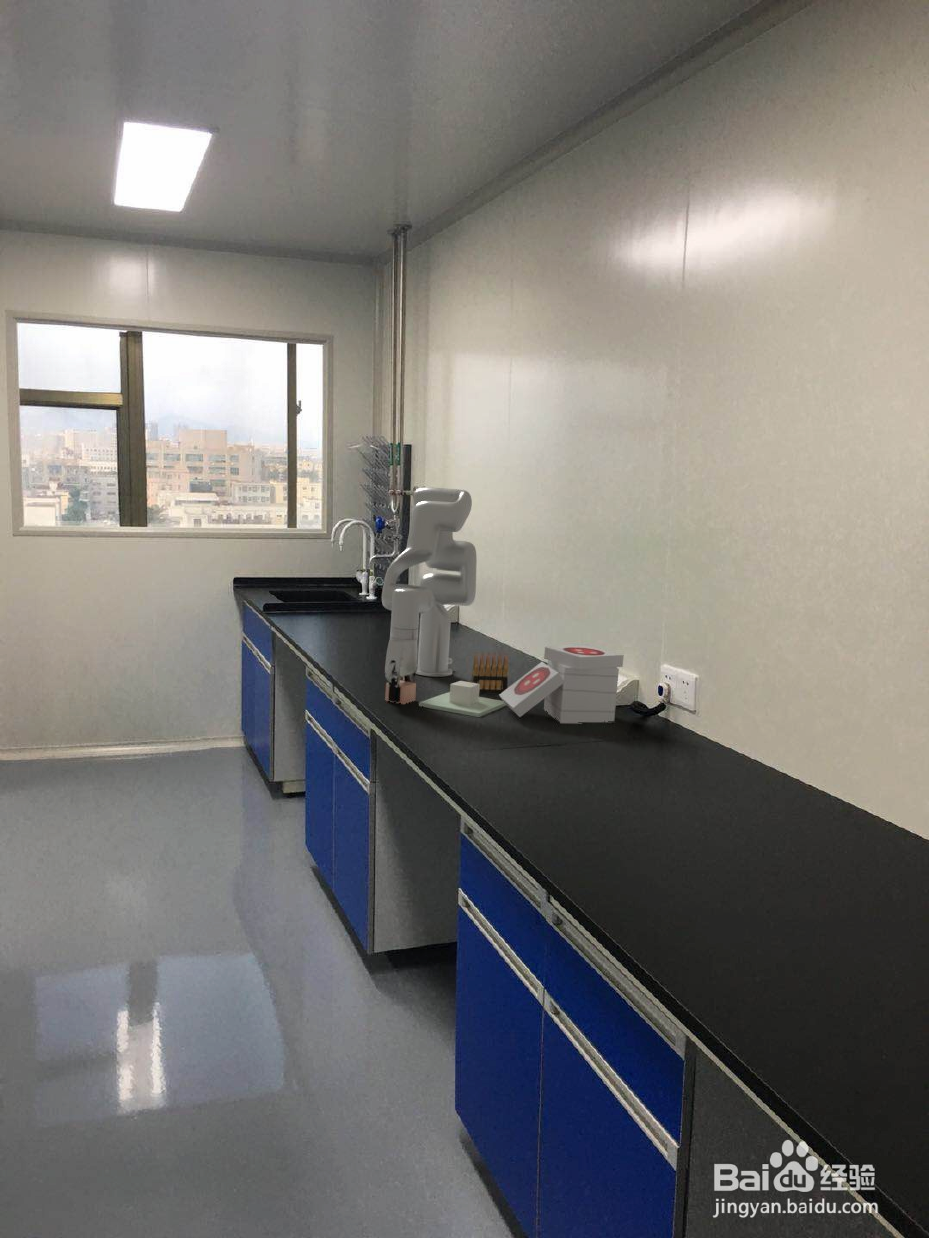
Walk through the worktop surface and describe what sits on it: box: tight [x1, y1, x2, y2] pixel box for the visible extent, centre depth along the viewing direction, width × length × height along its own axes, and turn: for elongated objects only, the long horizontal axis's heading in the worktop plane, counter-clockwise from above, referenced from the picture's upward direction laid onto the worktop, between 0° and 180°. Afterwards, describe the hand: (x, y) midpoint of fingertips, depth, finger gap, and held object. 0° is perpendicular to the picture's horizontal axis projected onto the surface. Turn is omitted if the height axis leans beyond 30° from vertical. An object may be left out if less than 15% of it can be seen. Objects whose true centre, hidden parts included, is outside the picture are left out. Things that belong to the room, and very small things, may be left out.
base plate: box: [418, 691, 508, 718], centre depth 269 cm, size 18×18×1 cm
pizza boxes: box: [498, 644, 624, 724], centre depth 263 cm, size 19×30×18 cm, turn 102°
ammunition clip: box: [470, 651, 509, 694], centre depth 287 cm, size 11×2×12 cm, turn 101°
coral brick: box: [384, 679, 417, 705], centre depth 269 cm, size 6×6×5 cm
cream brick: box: [449, 680, 480, 706], centre depth 268 cm, size 6×6×5 cm
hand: (400, 698), depth 269 cm, fingers closed on coral brick, 5 cm apart
